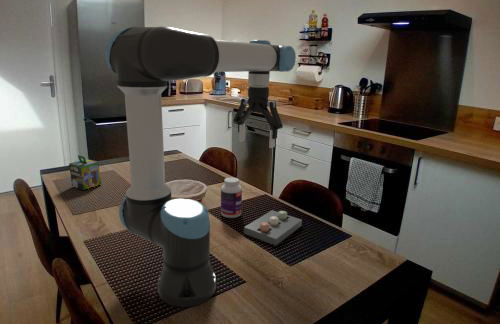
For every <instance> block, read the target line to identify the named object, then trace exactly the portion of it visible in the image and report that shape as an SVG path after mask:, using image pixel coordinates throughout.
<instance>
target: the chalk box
mask: <svg viewBox="0 0 500 324" xmlns="http://www.w3.org/2000/svg"><path fill="white" fill-rule="evenodd" d="M77 158H78V160H76V161H74V162H70V163H68V167H69V172H70V173H69V174H70V180H71V181H70V182H71V187H72V186H74V187H76V188H75V189H77V188H79V189H82V190H86V189H88V190H90V189H89V188H91V187H94V188H96V187H95V186H97V187H99V186H98V185H100V184H101V185H102V178H101V171H100V164H99V161H97V160H94V159H93V160H92V159H88V158H85V156H82V155H80V154H78V155H77ZM101 185H100V186H101ZM74 187H73V188H74ZM79 189H78V190H79ZM91 189H92V188H91ZM82 190H81V191H82ZM86 191H87V190H86Z"/></svg>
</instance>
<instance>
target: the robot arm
mask: <svg viewBox="0 0 500 324" xmlns="http://www.w3.org/2000/svg"><path fill="white" fill-rule="evenodd" d="M104 57H105V62H106V65H107V67H108V68H109V69H110V70H111V71H112V73H113V74H114V75H115V76H116V84H117V88H118V89H119V90H120V91H121V92H122V93H123V94H124V102H125V114H126V129H127V130H126V132H127V143H128V155H129V157H128V158H129V167H130V169H129V170H130V181H131V182H130V183H131V185H130V187H129V188H128V189H127V190H126V192H125V196H124V197H123V199H122V202H121V203H120V205H119V209H118V210H119V211H118V215H119V216H118V217H119V221H120V222H121V225H122V226H123V227H124V229H126V230H127V231H129V232H130V233H131V234H133V235H135V236H137V237H140V238H142V239H144V240H146V241H148V242H150V243H152V244H154V245H157V246H158V247H160V248H162V256H163V257H162V258H163V265H162V268H161V272H160V275H159V277H158V281H157V294H158V297H159V298H160V300H162V301H163V302H164V303H165V304H166V305H170V306H172V307H179V308H188V307H194V306H197V305H200V304H203V303H205V302H207V301H208V300H210V298H212V297H213V295H214V294H215V292H216V291H217V278H216V277H217V276H216V274H215V272H214V269H213V266H212V263H211V261H210V248H211V247H210V238H211V237H210V236H211V221H210V214H209V211H208V209H207V207H206V206H205V204H203V203H201V202H200V201H197V200H195V199H192V198H183V197H182V198H181V197H180V198H179V197H178V198H172V188H171V186H169V185H168V184H167V183H166V175H165V174H166V173H165V150H164V148H165V147H164V129H163V127H164V125H163V109H162V108H163V105H162V93H163V92H164V91H165V90H166V89H167V88H168V82H171V81H180V80H187V79H195V78H204V77H205V78H206V77H208V78H209V77H210V76H212V75H213V74H214V73H232V72H233V73H234V72H235V73H237V72H247V73H248V75H247V76H248V77H247V78H248V79H247V85H248V87H247V96H248V98H247V97H243V98H241V99H240V104H239V107H238V109H237V111H236V114H235V115H234V119H233V122H234V123H236V124H237V132H238V135H239V136H238V142H239V143H242V142H245V140H246V124H245V122H246V120H248V118H249V117H250V116H251V114H252V113H257V114H261V115H263V117H264V118H265V119H266V121H267V123H268V125H269V126H270V128H271V129H270V130H269V138H268V139H269V142H268V143H269V145H268V148H269V149H272V148H275V146H276V139H277V138H278V130H281V129H283V128H284V125H283V123H282V120H281V118H280V117H281V116H280V114H279V112H278V110H277V102H276V101H274V100H273V101H269V97H270V96H269V95H270V87H269V85H270V77H271V76H270V73H271V72H281V73H283V72H291V71H292V70H293V69H294V66H295V65H296V51H295V49H294V48H293V47H292V46H291V45H284V44H281V45H279V44H277V45H276V44H274V45H273V44H271V41H269V40H266V39H264V40H263V39H252V40H251V39H250V41H249V42H247V41H246V42H243V41H235V40H222V39H215V38H214V37H213V36H211V35H210V34H207V33H200V32H196V31H189V30H185V29H179V28H177V27H171V26H130V27H127V28H121V29H119V30H117V31H116V32H114V33H113V34H112V36H110V37H109V39H108V41H107V43H106V46H105V51H104ZM247 105H248V107H247ZM245 109H246V110H245Z"/></svg>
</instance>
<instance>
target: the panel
mask: <svg viewBox="0 0 500 324" xmlns="http://www.w3.org/2000/svg"><path fill="white" fill-rule="evenodd" d="M278 212H279V211H277V210H276V211H275V210H274V209H272V210H270V211H268V212H267V213H265V214H264V215H262V216H260V217H259V218H256V219H255V220H254V221H252V222H250V223H249V224H246V225H245V226H244V228H243V234H245V235H246V236H249V237H252V238H255V239H257V240H259V239H260V241H262V242H265V243H268V244H270V245H272V244H273V245H272V246H278V245H279V244H280V243H282V242H283V241H284V240H285V239H286V238H288V237H289V236H290V235H292V234H293V233H294V232H296V231H297V230H298V229H299V228H301V227H302V222H303V219H300V218H298V217H294V216H292V215H288V214H287V220H285V221H283V220H280V219H279V222H278V226H277V227H274V226H271V225H269V232H268V233H263V232H261V231H260V223H262V222H267V223H269V221H270V217H272V216H276V217H278Z"/></svg>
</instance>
